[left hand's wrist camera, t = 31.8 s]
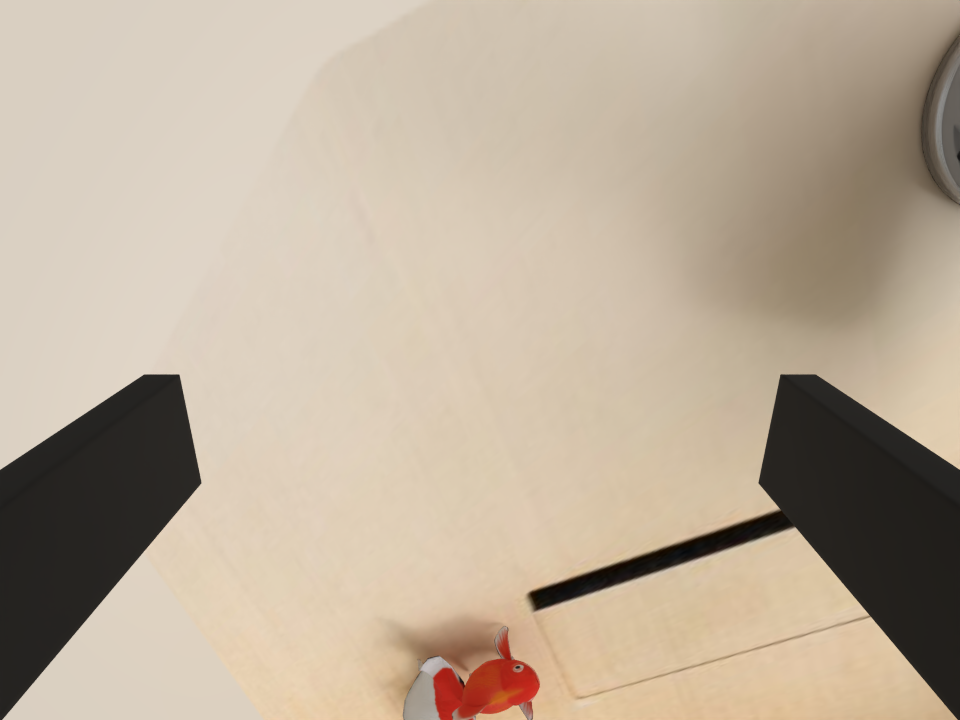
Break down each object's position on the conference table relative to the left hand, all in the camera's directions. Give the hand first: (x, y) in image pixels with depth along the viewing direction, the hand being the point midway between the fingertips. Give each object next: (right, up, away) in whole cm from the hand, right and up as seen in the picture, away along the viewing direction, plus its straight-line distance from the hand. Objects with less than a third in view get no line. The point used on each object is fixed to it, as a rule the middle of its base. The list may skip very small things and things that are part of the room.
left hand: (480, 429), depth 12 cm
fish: (-1, -29, +44) cm, 53 cm away
